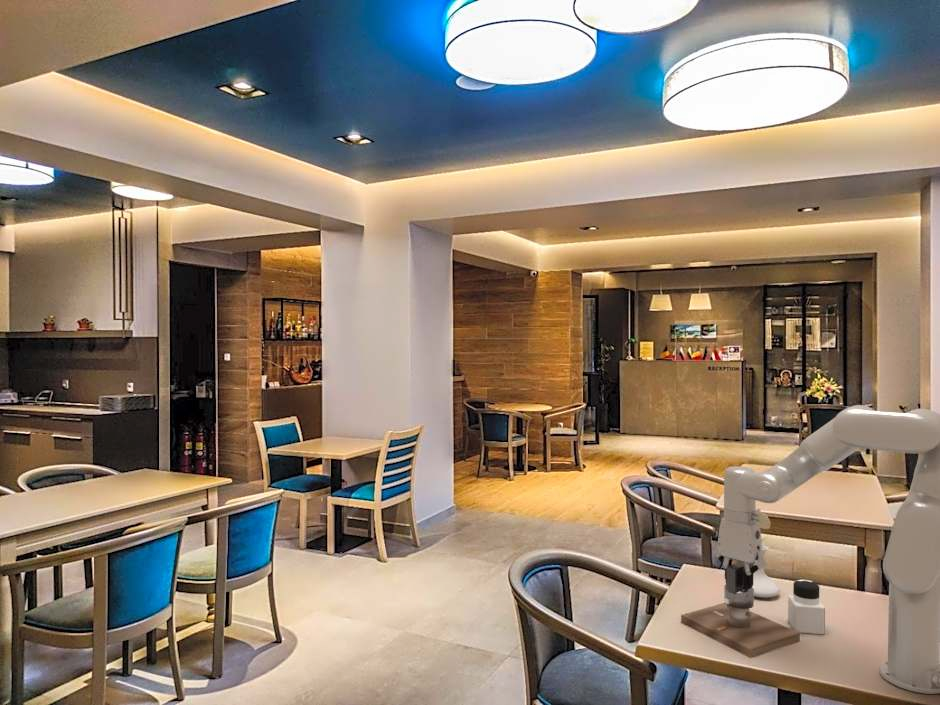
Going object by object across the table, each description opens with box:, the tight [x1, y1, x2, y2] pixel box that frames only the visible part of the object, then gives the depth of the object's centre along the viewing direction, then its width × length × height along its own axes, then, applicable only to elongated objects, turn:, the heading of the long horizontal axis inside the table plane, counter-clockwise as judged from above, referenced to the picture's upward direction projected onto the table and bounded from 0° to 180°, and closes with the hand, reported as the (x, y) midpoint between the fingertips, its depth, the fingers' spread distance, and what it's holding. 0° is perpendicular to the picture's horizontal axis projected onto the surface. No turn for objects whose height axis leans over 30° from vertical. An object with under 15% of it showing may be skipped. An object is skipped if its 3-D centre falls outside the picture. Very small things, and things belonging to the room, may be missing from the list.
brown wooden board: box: [680, 602, 801, 659], centre depth 172 cm, size 22×18×7 cm
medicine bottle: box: [787, 579, 826, 635], centre depth 174 cm, size 7×7×12 cm
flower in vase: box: [752, 507, 781, 598], centre depth 197 cm, size 13×11×25 cm
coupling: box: [723, 561, 755, 610], centre depth 171 cm, size 10×7×10 cm
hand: (738, 585), depth 172 cm, fingers open, 4 cm apart
